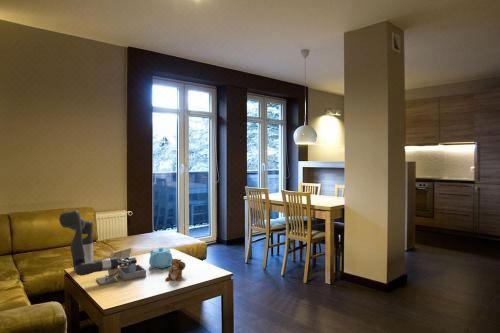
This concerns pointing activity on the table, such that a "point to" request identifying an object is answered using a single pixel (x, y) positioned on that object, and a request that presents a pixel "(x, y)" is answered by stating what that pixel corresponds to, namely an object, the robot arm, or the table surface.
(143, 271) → the bin
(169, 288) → the table surface
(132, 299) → the table surface
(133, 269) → the strut
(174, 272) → the stuffed squirrel
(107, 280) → the stud plate
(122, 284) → the table surface
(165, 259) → the decorative pot
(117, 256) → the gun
